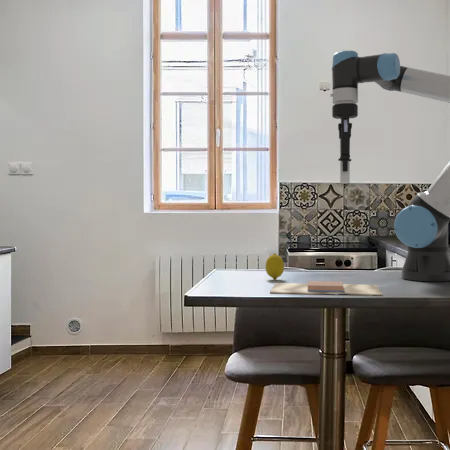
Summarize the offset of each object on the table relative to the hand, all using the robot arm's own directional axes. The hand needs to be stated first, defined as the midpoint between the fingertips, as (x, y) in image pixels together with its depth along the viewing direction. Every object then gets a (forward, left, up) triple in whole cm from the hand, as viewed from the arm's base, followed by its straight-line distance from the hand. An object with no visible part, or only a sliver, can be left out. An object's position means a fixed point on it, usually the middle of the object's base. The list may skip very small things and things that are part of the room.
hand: (344, 182), depth 177 cm
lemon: (+21, +3, -30) cm, 36 cm away
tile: (+6, +21, -28) cm, 36 cm away
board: (+6, +23, -29) cm, 38 cm away
